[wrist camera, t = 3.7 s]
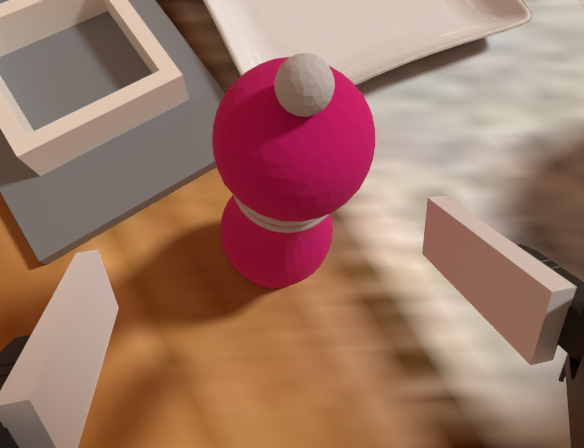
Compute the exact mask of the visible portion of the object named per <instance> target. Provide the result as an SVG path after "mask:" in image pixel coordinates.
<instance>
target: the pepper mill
mask: <svg viewBox="0 0 584 448" xmlns="http://www.w3.org/2000/svg"><path fill="white" fill-rule="evenodd" d="M212 146H213V155H214V159H215V162H216V166H217V168H218V171H219V173H220V175H221V177H222V180H223V182H224V184H225V185H226V186H227V188H228V189H229V190H230V191H231V192H232V193H233V196H232V197H231V198H230V200H229V201H228V203H227V205H226V207H225V209H224V212H223V215H222V220H221V242H222V246H223V249H224V252H225V254H226V256H227V259H228V260H229V262H230V263H231V264H232V266H233V267H234V268H235V269H236V270H237V271H238V272H239V273H240V274H241V275H243V276H244V277H245V278H246V279H248V280H249V281H250V282H252V283H254V284H256V285H258V286H261V287H265V288H282V287H286V286H289V285H292V284H295V283H298V282H300V281H302V280H304V279H306V278H307V277H309V276H310V275H311V274H313V273H314V272H315V271H316V270H317V269H318V268H319V267H320V265H321V264H322V262H323V261H324V259H325V257H326V255H327V253H328V250H329V247H330V244H331V241H332V233H333V227H332V219H331V214H330V213H332V212H334V211H335V210H337V209H338V208H340V207H341V206H342V205H344V204H345V203H346V202H347V201H348V200H349V199H350V198H351V197H352V196H353V195H354V194H355V193H356V192H357V191H358V190H359V188H360V187H361V185H362V183H363V181H364V180H365V178H366V176H367V174H368V172H369V169H370V166H371V163H372V160H373V155H374V149H375V128H374V122H373V117H372V114H371V111H370V108H369V106H368V104H367V102H366V100H365V98H364V97H363V95H362V93H361V92H360V90H359V89H358V88H357V87H356V86H355V85H354V83H353V82H352V81H351V80H350V79H348V78H347V77H346V76H345V75H344V74H342V73H341V72H339V71H337V70H336V69H334V68H332V67H331V66H329V65H328V64H327V63H326V62H325V61H324V60H323V59H321V58H320V57H318V56H317V55H313V54H310V53H300V54H296V55H294V56H291V57H284V58H276V59H272V60H270V61H267V62H264V63H261V64H259V65H257V66H255V67H254V68H252V69H250V70H249V71H247V72H246V73H244V74H243V75H242V76H241V77H239V78H238V79H237V80H236V81H235V82H234V83H233V84H232V85H231V86H230V88H229V89H228V90H227V92H226V93H225V94H224V96H223V98H222V100H221V102H220V104H219V106H218V109H217V112H216V116H215V120H214V124H213V137H212Z"/></svg>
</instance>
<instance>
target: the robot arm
mask: <svg viewBox="0 0 584 448" xmlns="http://www.w3.org/2000/svg"><path fill="white" fill-rule="evenodd" d="M422 254H423V255H424V256H425V257H426V258H427V259H428V260H429V261H430V262H431V263H432V264H433V265H434V266H435V267H436V268H437V269H438V270H439V271H440V272H441V274H442V275H443V276H444V277H445V278H446V279H447V280H448V281H449V282H450V283H451V284H452V285H453V286H454V287H455V288H456V289H457V290H458V291H459V292H460V293H461V294H462V295H463V296H464V297H465V298H466V299H467V300H468V301H469V302H470V303H471V304H472V305H473V306H474V307H475V308H476V309H477V311H478V312H479V313H480V314H481V315H482V316H483V317H484V318H485V319H486V320H487V321H488V322H489V323H490V324H491V325H492V326H493V327H494V328H495V329H496V330H497V331H498V332H499V333H500V334H501V335H502V336H503V337H504V338H505V339H506V340H507V341H508V342H509V343H510V344H511V345H512V347H513V348H514V349H515V350H516V351H517V352H518V353H519V354H520V355H521V356H522V357H523V358H524V359H525V360H526V361H527V362H528V363H529V364H530V365H533V364H538V363H542V362H546V361H550V360H553V358H554V355H555V352H556V349H557V346H558V345H559V346H560V347H561V348H563V349H564V350H565V351H566V352H567V353H568V354H567V357H566V360H565V363H564V365H563V368H562V371H561V374H560V377H559V381H561V382H563V380H564V377H566V385H567V398H568V411H569V424H570V437H571V448H584V282H583V281H581V280H580V279H578V278H577V277H575V276H574V275H572V274H571V273H569V272H568V271H566V270H565V269H563V268H562V267H559V265H557V264H556V263H554V262H553V261H549V259H548V258H547V257H545V256H544V255H542V254H541V253H539V252H538V251H536V250H534V249H531V248H529V247H526V246H523V245H521V244H520V245H516V244H514V243H513V242H511V241H510V240H509V239H507V238H506V237H504V236H503V235H501V234H500V233H498V232H497V231H496V230H494V229H493V228H491V227H490V226H488V225H487V224H486V223H484V222H483V221H481V220H480V219H478V218H477V217H475V216H474V215H473V214H471V213H470V212H468V211H467V210H465V209H464V208H462V207H461V206H460V205H458V204H457V203H455V202H454V201H452V200H451V199H449V198H448V197H447V196H445V195H443V196H437V197H430V198H428V202H427V212H426V222H425V232H424V242H423V252H422ZM118 309H119V307H118V304H117V302H116V299H115V296H114V293H113V290H112V287H111V284H110V282H109V279H108V276H107V273H106V270H105V267H104V264H103V262H102V259H101V256H100V253H99V250H92V251H85V252H79V253H76V254H75V256H74V258H73V260H72V262H71V263H70V265H69V267H68V269H67V271H66V272H65V274H64V276H63V278H62V280H61V282H60V283H59V285H58V287H57V289H56V291H55V292H54V294H53V296H52V298H51V300H50V302H49V303H48V305H47V307H46V309H45V311H44V312H43V314H42V316H41V318H40V320H39V322H38V323H37V325H36V327H35V329H34V331H33V332H32V334H31V335H28V336H22V337H17V338H15V339H14V340H13V341H12V342H11V343H9V344H8V345H7V346H6V347H5V348H4V349H3V350H2V351H1V352H0V448H78V446H79V443H80V439H81V436H82V433H83V429H84V426H85V422H86V419H87V415H88V412H89V409H90V405H91V402H92V398H93V395H94V391H95V388H96V385H97V381H98V378H99V374H100V371H101V367H102V364H103V361H104V357H105V354H106V350H107V347H108V343H109V340H110V337H111V333H112V330H113V326H114V323H115V319H116V316H117V313H118Z"/></svg>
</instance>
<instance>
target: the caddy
mask: <svg viewBox="0 0 584 448" xmlns="http://www.w3.org/2000/svg"><path fill="white" fill-rule="evenodd" d="M224 94H225V92H224V91H223V89H222V88H221V87H220V85H219V84H218V83H217V81H216V80H215V79H214V77H213V76H212V75H211V73H210V72H209V71H208V70H207V68H206V67H205V66H204V64H203V63H202V62H201V60H200V59H199V58H198V56H197V55H196V54H195V52H194V51H193V50H192V48H191V47H190V46H189V44H188V43H187V42H186V40H185V39H184V38H183V36H182V35H181V34H180V32H179V31H178V30H177V28H176V27H175V26H174V24H173V23H172V22H171V20H170V19H169V18H168V16H167V15H166V14H165V13H164V11H163V10H162V9H161V7H160V6H159V5H158V3H157V2H156V1H155V0H0V192H1V194H2V196H3V198H4V200H5V201H6V203H7V205H8V207H9V209H10V210H11V212H12V214H13V216H14V218H15V219H16V221H17V223H18V225H19V226H20V228H21V230H22V232H23V234H24V235H25V237H26V239H27V241H28V243H29V244H30V246H31V248H32V250H33V252H34V253H35V255H36V257H37V259H38V261H39V262H41V263H44V264H46V265H47V264H48V263H50V262H52V261H54V260H55V259H57V258H59V257H61V256H62V255H64V254H66V253H68V252H69V251H71V250H73V249H74V248H76V247H78V246H80V245H81V244H83V243H85V242H87V241H88V240H90V239H92V238H94V237H95V236H97V235H99V234H100V233H102V232H104V231H106V230H107V229H109V228H111V227H113V226H114V225H116V224H118V223H120V222H121V221H123V220H125V219H127V218H128V217H130V216H132V215H133V214H135V213H137V212H139V211H140V210H142V209H144V208H146V207H147V206H149V205H151V204H153V203H154V202H156V201H158V200H159V199H161V198H163V197H165V196H166V195H168V194H170V193H172V192H173V191H175V190H177V189H179V188H180V187H182V186H184V185H186V184H187V183H189V182H191V181H192V180H194V179H196V178H198V177H199V176H201V175H203V174H205V173H206V172H208V171H210V170H212V169H213V168H215V167H217V166H216V162H215V159H214V155H213V146H212V137H213V124H214V120H215V116H216V112H217V109H218V106H219V104H220V102H221V100H222V98H223V96H224Z"/></svg>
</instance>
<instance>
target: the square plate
mask: <svg viewBox="0 0 584 448" xmlns="http://www.w3.org/2000/svg"><path fill="white" fill-rule="evenodd" d="M203 2H204V4H205V5H206V7H207V9H208V11H209V13H210V15H211V17H212V19H213V21H214V23H215V25H216V27H217V29H218V31H219V33H220V35H221V37H222V39H223V41H224V43H225V45H226V48H227V50H228V52H229V54H230V56H231V58H232V60H233V62H234V64H235V66H236V68H237V70H238V72H239V74H240V76H242V75H243V74H244V73H246V72H247V71H249V70H250V69H252V68H254V67H255V66H257V65H259V64H261V63H264V62H267V61H270V60H272V59H276V58H284V57H291V56H294V55H296V54H300V53H310V54H313V55H317V56H318V57H320V58H321V59H323V60H324V61H325V62H326V63H327V64H328V65H329V66H331V67H332V68H334V69H336V70H337V71H339V72H341V73H342V74H344V75H345V76H346V77H347V78H348V79H350V80H351V81H352V82H353V83H354V85H357V84H360V83H362V82H364V81H366V80H368V79H371V78H373V77H375V76H377V75H380V74H382V73H385V72H387V71H389V70H392V69H394V68H397V67H399V66H402V65H404V64H406V63H409V62H412V61H414V60H417V59H420V58H423V57H426V56H428V55H431V54H434V53H437V52H440V51H443V50H446V49H449V48H452V47H455V46H458V45H461V44H464V43H468V42H471V41H474V40H477V39H481V38H484V37H487V36H491V35H494V34H497V33H501V32H504V31H507V30H510V29H513V28H516V27H518V26H521V25H523V24H525V23H527V22H529V21H530V20H531V19H532V12H531V10H530V9H529V7H528V6H527V5H526V4H525V2H524V1H523V0H203Z"/></svg>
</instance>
